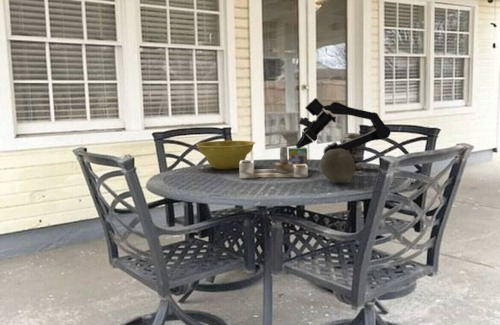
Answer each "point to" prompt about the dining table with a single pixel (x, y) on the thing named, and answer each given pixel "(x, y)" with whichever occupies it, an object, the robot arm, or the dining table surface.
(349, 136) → the apothecary jar
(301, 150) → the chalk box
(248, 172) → the rail track
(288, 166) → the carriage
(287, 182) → the dining table surface
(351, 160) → the cantaloupe
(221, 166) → the planter bowl
